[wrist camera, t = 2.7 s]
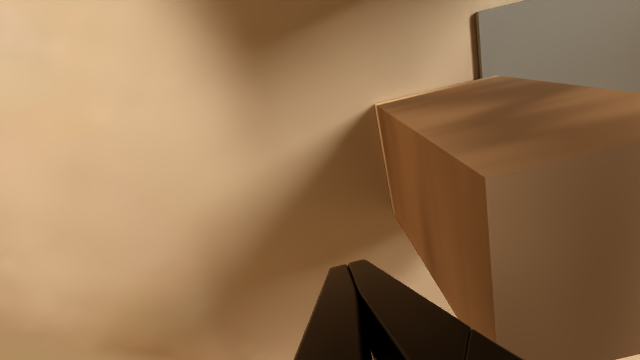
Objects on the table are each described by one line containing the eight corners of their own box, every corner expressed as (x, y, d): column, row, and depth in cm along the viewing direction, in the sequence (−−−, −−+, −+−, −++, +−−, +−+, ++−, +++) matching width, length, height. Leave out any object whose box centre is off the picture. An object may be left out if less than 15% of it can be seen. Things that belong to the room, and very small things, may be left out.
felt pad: (717, -47, 14) (723, -48, 14) (684, 183, 18) (689, 185, 17) (475, 12, 14) (478, 11, 14) (490, 234, 17) (492, 236, 17)
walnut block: (494, 75, 15) (774, 109, 6) (500, 187, 16) (724, 334, 8) (374, 104, 15) (485, 177, 6) (393, 212, 16) (499, 385, 8)
